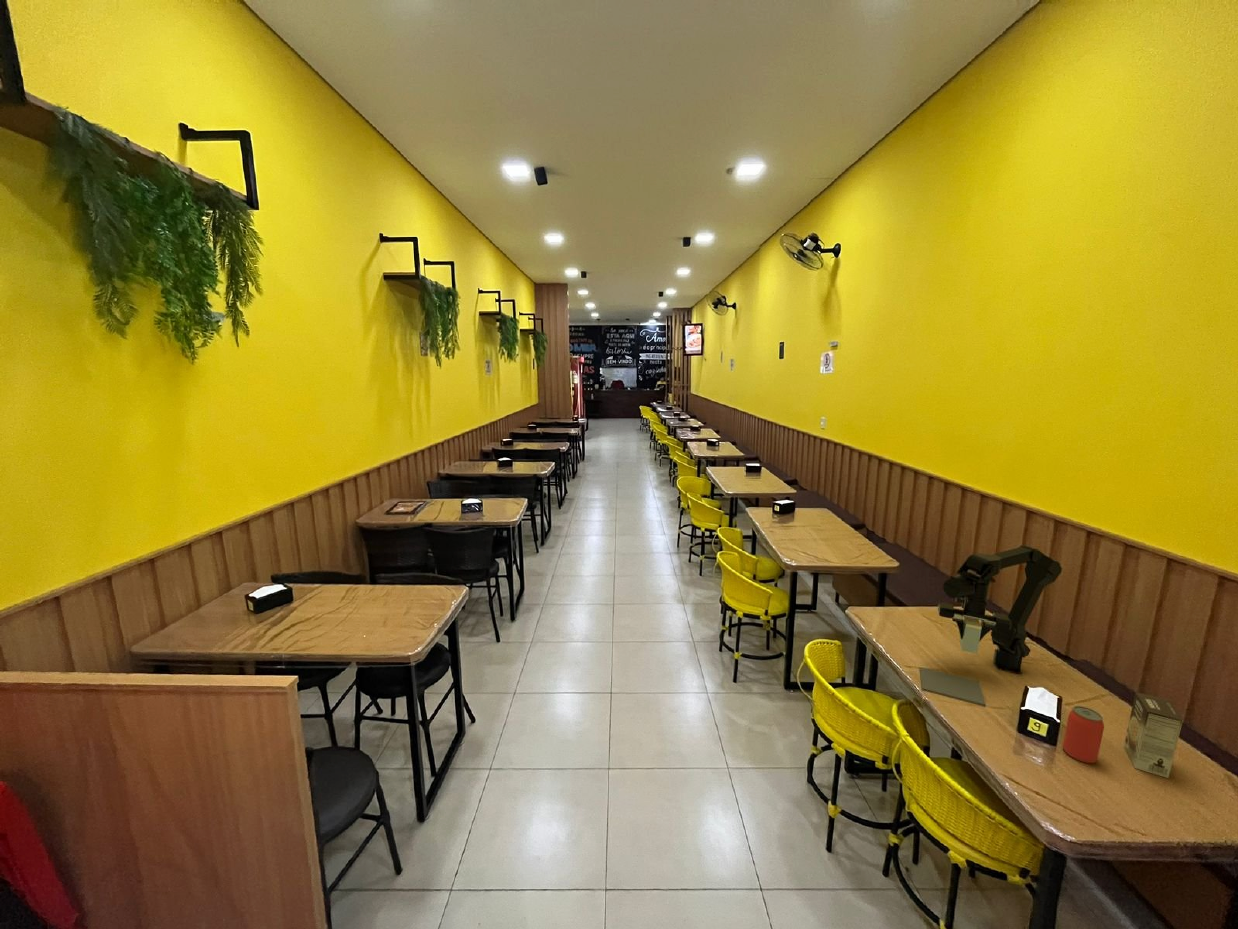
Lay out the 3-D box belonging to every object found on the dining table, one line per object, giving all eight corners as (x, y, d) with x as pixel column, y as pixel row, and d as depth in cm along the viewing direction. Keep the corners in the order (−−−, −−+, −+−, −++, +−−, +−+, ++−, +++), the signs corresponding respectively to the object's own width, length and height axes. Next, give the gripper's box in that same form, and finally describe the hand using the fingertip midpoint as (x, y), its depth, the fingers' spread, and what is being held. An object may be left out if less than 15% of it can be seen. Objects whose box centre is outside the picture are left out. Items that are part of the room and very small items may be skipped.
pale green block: (974, 645, 162) (978, 619, 160) (977, 653, 157) (981, 627, 155) (959, 641, 164) (963, 616, 162) (962, 650, 158) (966, 624, 157)
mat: (978, 682, 156) (978, 681, 156) (985, 706, 145) (985, 704, 145) (919, 668, 164) (919, 666, 164) (922, 689, 153) (922, 688, 152)
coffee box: (1121, 745, 130) (1134, 690, 127) (1156, 755, 127) (1169, 699, 124) (1133, 768, 123) (1146, 710, 120) (1170, 779, 119) (1185, 720, 116)
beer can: (1090, 750, 128) (1098, 708, 126) (1101, 768, 123) (1111, 725, 120) (1058, 742, 131) (1065, 701, 129) (1067, 759, 125) (1076, 717, 123)
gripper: (1007, 591, 160) (1000, 636, 162) (939, 580, 168) (933, 622, 171) (1015, 605, 150) (1007, 652, 153) (942, 592, 159) (936, 637, 161)
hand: (969, 640), depth 160 cm, fingers closed on pale green block, 4 cm apart
